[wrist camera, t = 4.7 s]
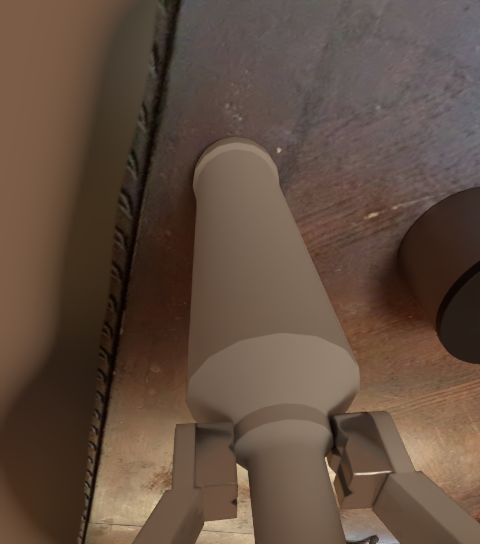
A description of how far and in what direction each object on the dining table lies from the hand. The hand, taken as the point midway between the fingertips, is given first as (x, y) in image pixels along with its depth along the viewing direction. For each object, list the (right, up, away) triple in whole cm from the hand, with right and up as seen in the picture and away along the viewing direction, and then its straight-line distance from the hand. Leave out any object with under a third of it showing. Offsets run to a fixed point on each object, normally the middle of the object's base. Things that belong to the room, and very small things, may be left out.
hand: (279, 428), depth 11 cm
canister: (+16, +6, +19) cm, 26 cm away
